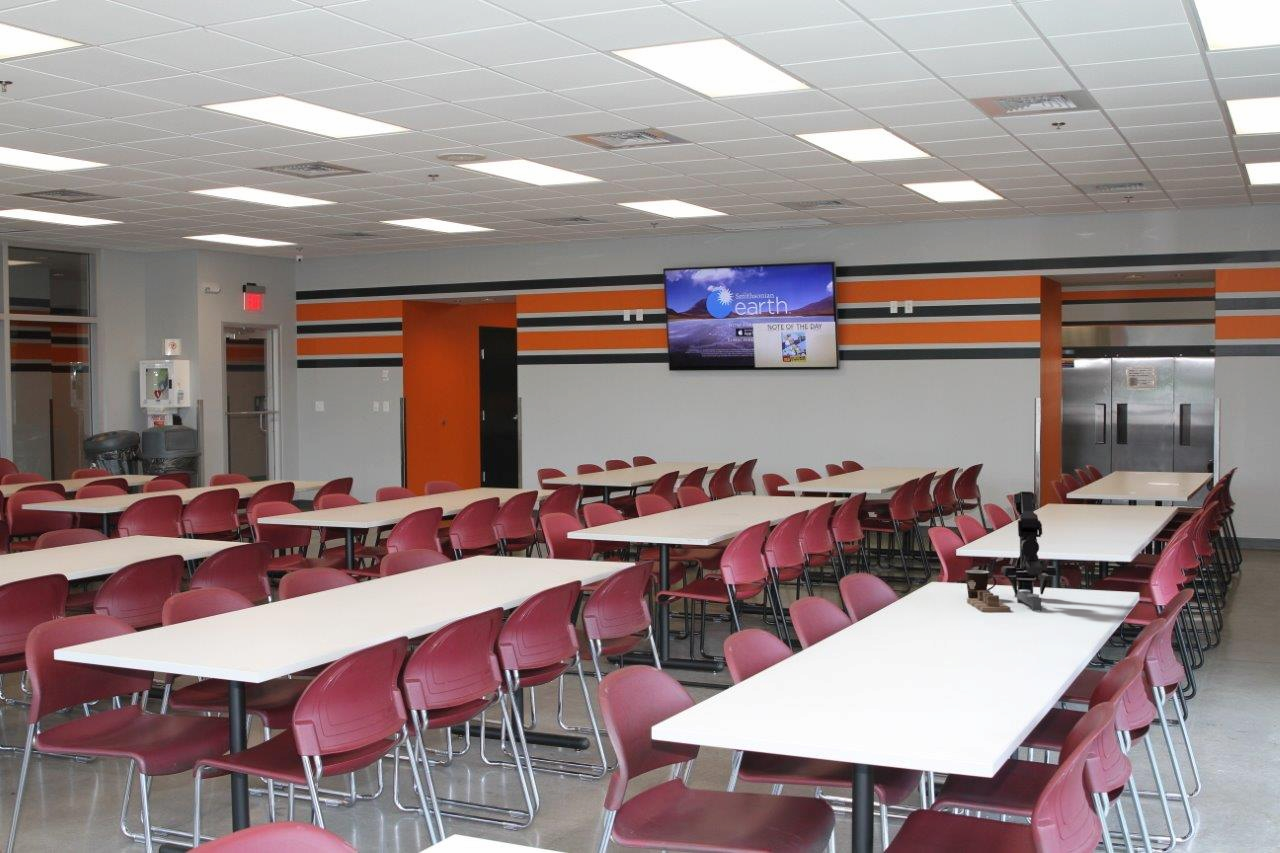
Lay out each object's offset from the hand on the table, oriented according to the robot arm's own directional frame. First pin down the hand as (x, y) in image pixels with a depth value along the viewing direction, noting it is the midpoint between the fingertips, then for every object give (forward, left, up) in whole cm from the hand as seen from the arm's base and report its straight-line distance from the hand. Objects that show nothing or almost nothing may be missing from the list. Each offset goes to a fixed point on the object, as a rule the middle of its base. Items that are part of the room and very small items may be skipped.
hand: (1028, 594), depth 441 cm
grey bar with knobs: (0, 0, -4) cm, 4 cm away
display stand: (+1, -15, -4) cm, 16 cm away
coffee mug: (-18, -13, -4) cm, 23 cm away
